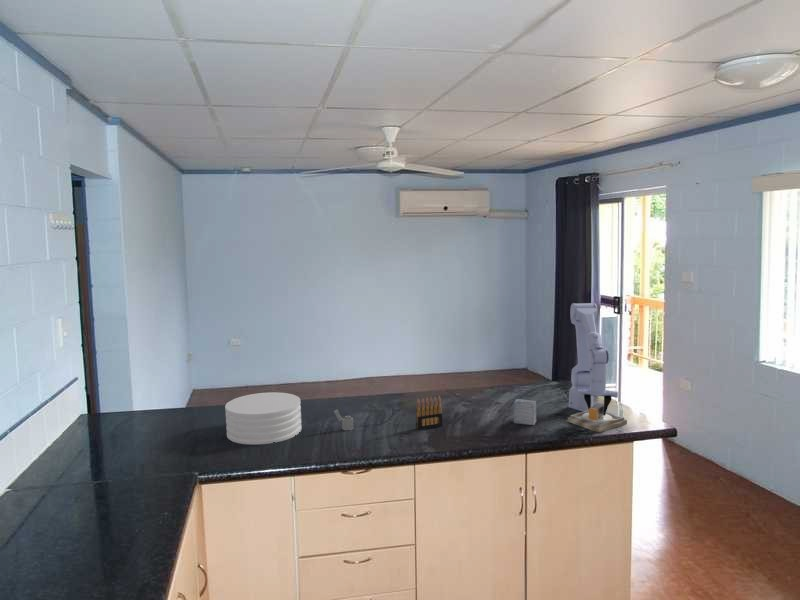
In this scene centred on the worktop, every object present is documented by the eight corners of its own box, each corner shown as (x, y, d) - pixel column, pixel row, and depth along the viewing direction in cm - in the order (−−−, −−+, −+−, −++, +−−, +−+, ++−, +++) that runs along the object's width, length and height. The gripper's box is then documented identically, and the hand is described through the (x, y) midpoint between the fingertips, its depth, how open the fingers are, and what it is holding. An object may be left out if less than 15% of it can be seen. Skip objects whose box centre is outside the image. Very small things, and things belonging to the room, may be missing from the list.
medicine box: (536, 422, 227) (536, 400, 226) (533, 425, 223) (534, 403, 222) (516, 419, 231) (516, 398, 230) (513, 423, 227) (513, 401, 226)
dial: (577, 419, 224) (577, 407, 224) (588, 412, 233) (588, 400, 232) (606, 425, 217) (606, 412, 217) (616, 417, 226) (616, 405, 225)
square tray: (567, 421, 227) (567, 414, 227) (594, 413, 236) (594, 407, 235) (599, 432, 215) (599, 425, 214) (626, 423, 223) (627, 417, 223)
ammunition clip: (440, 424, 227) (440, 394, 226) (442, 425, 225) (442, 395, 224) (415, 428, 223) (415, 398, 222) (417, 430, 221) (417, 399, 220)
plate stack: (222, 426, 231) (220, 398, 230) (292, 415, 242) (291, 389, 241) (232, 449, 206) (230, 418, 204) (309, 437, 217) (308, 407, 215)
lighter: (353, 428, 225) (352, 408, 224) (353, 429, 223) (352, 409, 222) (334, 429, 224) (333, 409, 223) (334, 431, 222) (334, 410, 221)
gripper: (578, 381, 221) (577, 416, 223) (618, 383, 217) (617, 418, 219) (578, 376, 228) (577, 410, 230) (617, 378, 224) (616, 413, 225)
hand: (597, 414), depth 225 cm, fingers closed on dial, 5 cm apart
